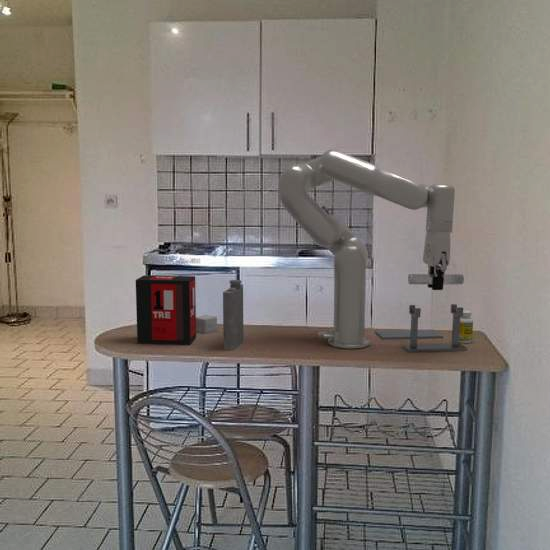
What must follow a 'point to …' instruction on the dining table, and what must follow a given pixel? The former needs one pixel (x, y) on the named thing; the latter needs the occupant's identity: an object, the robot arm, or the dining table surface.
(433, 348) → the hook stand
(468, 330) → the supplement bottle
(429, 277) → the grey metallic bar
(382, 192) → the robot arm
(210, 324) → the small box
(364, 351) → the dining table surface
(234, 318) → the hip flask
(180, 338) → the cleaning product box
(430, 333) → the slate mat
